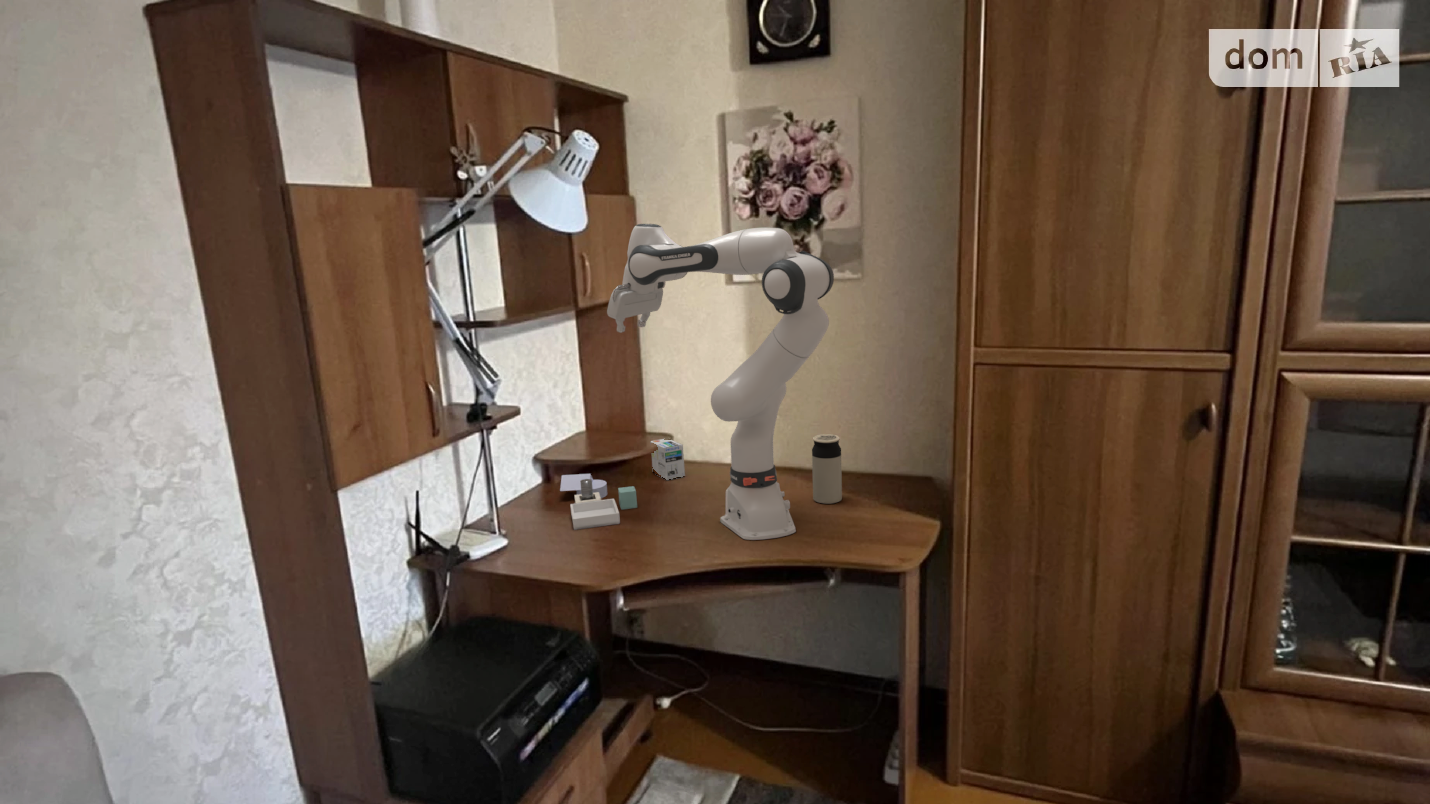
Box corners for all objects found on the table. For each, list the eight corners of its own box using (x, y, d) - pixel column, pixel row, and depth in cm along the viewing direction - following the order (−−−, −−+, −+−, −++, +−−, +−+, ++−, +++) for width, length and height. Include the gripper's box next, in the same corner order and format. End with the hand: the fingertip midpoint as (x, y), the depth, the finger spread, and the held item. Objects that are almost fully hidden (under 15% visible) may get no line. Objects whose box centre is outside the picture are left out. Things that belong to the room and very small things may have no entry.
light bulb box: (685, 477, 244) (683, 444, 241) (666, 481, 241) (664, 447, 238) (670, 469, 253) (668, 437, 251) (651, 473, 250) (649, 440, 247)
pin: (594, 508, 220) (592, 481, 218) (583, 510, 219) (580, 483, 217) (593, 504, 223) (591, 478, 221) (582, 506, 222) (579, 479, 220)
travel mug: (847, 501, 215) (846, 438, 211) (822, 506, 212) (820, 443, 208) (832, 493, 222) (831, 432, 218) (808, 497, 219) (806, 436, 215)
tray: (620, 523, 207) (619, 513, 206) (573, 529, 204) (572, 519, 204) (614, 508, 219) (614, 498, 218) (571, 514, 216) (570, 504, 215)
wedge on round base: (561, 501, 227) (605, 499, 227) (559, 480, 225) (603, 477, 226) (566, 491, 236) (609, 489, 236) (564, 470, 234) (607, 468, 234)
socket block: (602, 509, 218) (601, 499, 218) (576, 513, 217) (575, 503, 216) (599, 501, 225) (598, 492, 224) (575, 505, 223) (574, 495, 223)
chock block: (637, 507, 219) (635, 490, 218) (621, 509, 218) (620, 492, 217) (635, 502, 223) (633, 486, 222) (619, 504, 222) (618, 488, 221)
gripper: (624, 289, 203) (616, 338, 208) (669, 281, 219) (660, 327, 225) (605, 282, 205) (598, 331, 211) (651, 274, 222) (643, 320, 227)
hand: (631, 329), depth 218 cm, fingers open, 8 cm apart
